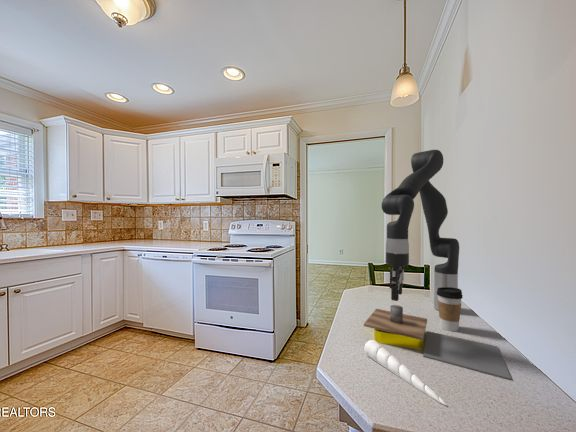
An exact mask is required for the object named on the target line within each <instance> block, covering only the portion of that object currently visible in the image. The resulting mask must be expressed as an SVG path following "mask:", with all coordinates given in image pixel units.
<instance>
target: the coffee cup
mask: <svg viewBox="0 0 576 432" xmlns="http://www.w3.org/2000/svg"><path fill="white" fill-rule="evenodd" d="M462 291H463V290H462V289H461V288H452V287H440V288H438V289H437V295H438V309H439V310H438V316H439V327H440V328H441V329H443V330H446V331H449V332H458V331H459V329H460V328H459V326H460V317H461V311H462V299H463V292H462Z"/></svg>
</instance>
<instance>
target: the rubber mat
mask: <svg viewBox="0 0 576 432" xmlns="http://www.w3.org/2000/svg"><path fill="white" fill-rule="evenodd" d="M424 341H425V342H424V348H423V354H422V357H423V358H427V359H431V360H433V361H438V362H442V363H446V364H449V365H453V366H457V367H460V368H465V369H467V370H471V371H475V372H479V373H483V374H487V375H491V376H494V377H497V378H502V379H506V380H510V381H512V377H511V375H510V373H509V371H508V368H507V366H506V364H505V361H504V359H503V357H502V355H501V352H500V350H499V348H498V346H497V345H494V344H493V345H492V344H488V343H483V342H479V341H474V340H469V339H465V338H460V337H455V336H452V335H448V334H442V333H438V332H434V331H428V330H426V333H425V339H424Z"/></svg>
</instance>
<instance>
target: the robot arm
mask: <svg viewBox="0 0 576 432" xmlns="http://www.w3.org/2000/svg"><path fill="white" fill-rule="evenodd" d="M410 164H411V169H412V173H410V174H409V175H408V176H406V177H405V178H404V179H403V180H402V181H401V183H400V184H399V185H398V186H397V188H394V189H393V190H392V191H390V192H389V193H388V194H386V195H385V197H384V198H383V199H382V202H381V210H382V212H383V213H384V214H386V215H387V216H388V215H389V216H398V215H399V216H398V218H397V220H394V221H389V222H388V223H387V224H386V240H385V241H386V242H385V264H386V265H388V266H391V267H392V268H391V269H390V271H389V289H390V290H391V292H390V294H391V295H390V296H391V297H390V298H391V301H395V302H398V301H399V298H400V297H399V295H402V294H403V284H404V279H405V278H404V276H405V275H404V273H405V270H404V268H405V267H407V266H409V265H410V243H409V226H410V223H411V222H410V221H411V219H412V214H413V213H414V209H415V201H414V200H415V198H416V197H417V196H418V194H419V195H420V200H421V201H420V202H421V205H422V210H423V211H422V212H423V214H424V219H425V221H426V226H427V231H428V238H429V240H428V241H429V247H430V251H431V253H432V254H431V255H432V256H435V257H438V258H444V259H447V261H446V262H444V263H438V264H436V265H434V268H433V269H434V273H433V274H434V278H433V279H434V280H433V288H434V289H433V290H434V291H433V293H434V294H433V295H434V296H433V297H434V298H433V308H434V309H435V310H437V311H439V309H438V295H437V289H438V288H440V287H452V288H458V287H459V281H458V280H459V279H458V277H459V272H458V271H459V260H460V259H459V257H460V242H459V240H458V239H457V238H453V237H451V238H450V237H440V229H441V227H442V225H443V223H444V222H445V220H446V218H447V217H448V213H449V211H448V209H449V208H448V205H447V200H446V198H445V196H444V195H443V194H442V192H441V191H439V190H438V189H437V188H436V187H435V186H434V185H433V184H432V183H431V182H430V180H431V179H432V178H433V177H434V176H435V175H437V174H438V173H439V172H440V171H441V169H442V168H443V165H444V155H443V153H442V152H441V151H440V150H439V149H430V150H424V151H419V152H416V153H415V152H414V153H413V154H412V156H411V159H410ZM394 284H395V285H394ZM458 289H459V288H458Z"/></svg>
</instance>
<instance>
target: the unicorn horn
mask: <svg viewBox="0 0 576 432" xmlns="http://www.w3.org/2000/svg"><path fill="white" fill-rule="evenodd" d="M364 344H365V345H364V348H363V350H364V354H365V355H366V356H367V357H368V358H370V359H371V360H373V361H375V362H376V363H377V364H378V365H379V364H380V366H382V367H383V368H385V369H386V370H388V371H390V372H391V373H392V374H394V375H395V376H397V377H398V378H400V379H402V380H403V381H405V382H406V383H407V384H409V385H410V386H412V387H414V388H415V389H417V390H418V391H420V392H422V393H423V394H425V395H426V396H428V397H429V398H431V399H433V400H435V402H438V403H439V404H442V405H444V406H447V407H448V405H447V403H446V402H445V401H444V400H443V399H442V397H440V396H438V394H437V393H436V392H435V391H433V390H432V388H430V387H429V386H428V385H426V384H425V382H424V381H423V380H422V379H421V378H419V377H418V376H417V375H416V374H413V371H411V370H410V369H409V368H407V366H405V365H404V364H402V362H401V361H399V359H397V357H396V356H394V355H392V354H391V353H390V352H389V351H388V350H387V349H386V348H385V347H383V346H382V345H381V343H378V342H376V341H375V339H370V340H368V341H367V342H366V343H364Z"/></svg>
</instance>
